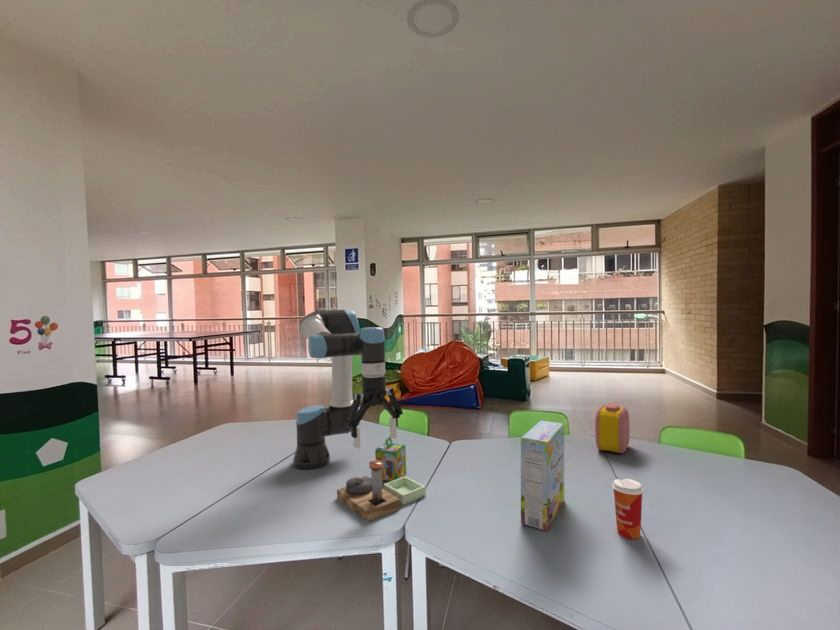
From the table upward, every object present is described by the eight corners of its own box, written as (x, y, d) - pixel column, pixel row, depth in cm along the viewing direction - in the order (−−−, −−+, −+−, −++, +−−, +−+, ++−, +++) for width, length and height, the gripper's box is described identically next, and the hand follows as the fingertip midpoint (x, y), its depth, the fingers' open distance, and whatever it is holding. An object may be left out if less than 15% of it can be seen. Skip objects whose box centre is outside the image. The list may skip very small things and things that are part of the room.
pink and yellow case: (603, 441, 184) (603, 399, 184) (630, 445, 178) (629, 402, 178) (595, 453, 169) (594, 408, 169) (623, 458, 163) (622, 411, 163)
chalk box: (397, 483, 145) (396, 443, 145) (375, 480, 148) (374, 441, 148) (407, 473, 154) (406, 435, 154) (386, 470, 157) (385, 433, 157)
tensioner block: (337, 498, 134) (336, 478, 134) (367, 487, 142) (366, 468, 142) (368, 521, 119) (367, 498, 119) (400, 508, 126) (399, 486, 126)
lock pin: (368, 509, 126) (366, 462, 126) (379, 505, 129) (378, 459, 129) (375, 515, 123) (374, 466, 123) (387, 510, 125) (385, 463, 125)
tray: (383, 492, 138) (383, 483, 138) (405, 484, 144) (405, 476, 144) (403, 504, 129) (403, 495, 129) (425, 495, 135) (425, 486, 135)
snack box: (550, 533, 110) (548, 442, 110) (519, 525, 115) (517, 437, 115) (566, 500, 129) (565, 422, 128) (540, 494, 133) (538, 419, 133)
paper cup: (607, 527, 113) (606, 478, 112) (633, 525, 113) (632, 476, 113) (624, 543, 105) (622, 490, 105) (651, 540, 105) (650, 488, 105)
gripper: (344, 382, 115) (346, 455, 115) (411, 372, 130) (413, 436, 130) (332, 379, 120) (334, 448, 120) (398, 370, 136) (400, 431, 136)
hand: (375, 442), depth 125 cm, fingers open, 13 cm apart
